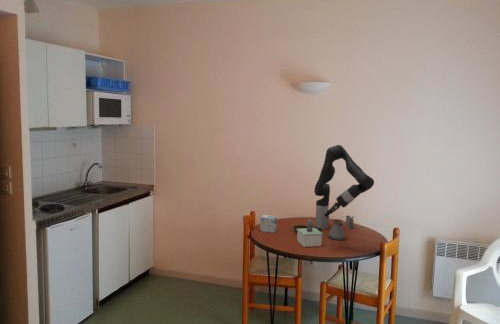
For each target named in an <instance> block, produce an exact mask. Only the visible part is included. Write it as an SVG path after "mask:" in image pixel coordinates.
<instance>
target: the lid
mask: <svg viewBox="0 0 500 324" xmlns="http://www.w3.org/2000/svg"><path fill="white" fill-rule="evenodd" d="M313 224H314V221H313V220H312V219H307V220H306V228H305V227H304V228H302V227H301V228H296V232H299V233H300V234H302V235H303V236H314V235H322V236H323V235H324V233H323V232H321V231H320V230H319V229H318V228H316V227H313Z"/></svg>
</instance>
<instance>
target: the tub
mask: <svg viewBox="0 0 500 324" xmlns="http://www.w3.org/2000/svg"><path fill="white" fill-rule="evenodd" d="M296 232H297V237H296V242H297V243H299V245H301V246H302V247H303V248H307V247H322V239H323V238H322V237H323V235H314V236H303V235H302V234H300V233H299V232H298V231H296Z"/></svg>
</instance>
